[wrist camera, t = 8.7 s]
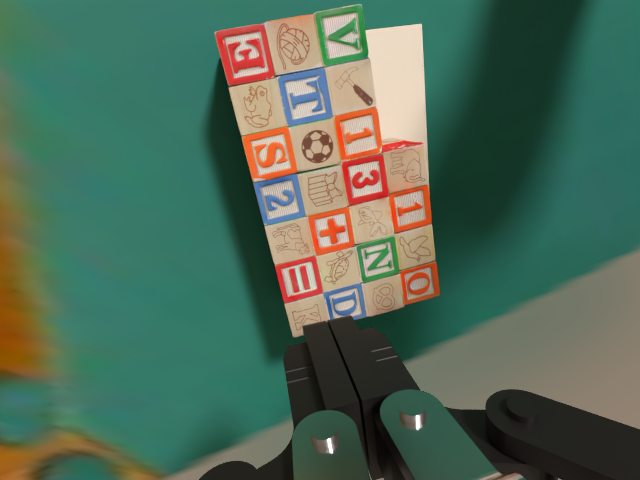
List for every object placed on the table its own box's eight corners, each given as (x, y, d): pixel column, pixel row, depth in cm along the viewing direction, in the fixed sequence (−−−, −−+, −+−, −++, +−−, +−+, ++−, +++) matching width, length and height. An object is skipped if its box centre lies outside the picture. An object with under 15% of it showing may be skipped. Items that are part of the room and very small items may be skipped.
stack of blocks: (209, 29, 22) (408, -9, 23) (216, 49, 28) (375, 18, 29) (293, 340, 29) (443, 296, 30) (285, 303, 35) (410, 268, 36)
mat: (419, 25, 30) (421, 23, 30) (432, 294, 38) (434, 295, 38) (243, 45, 28) (243, 44, 28) (294, 324, 36) (295, 326, 36)
